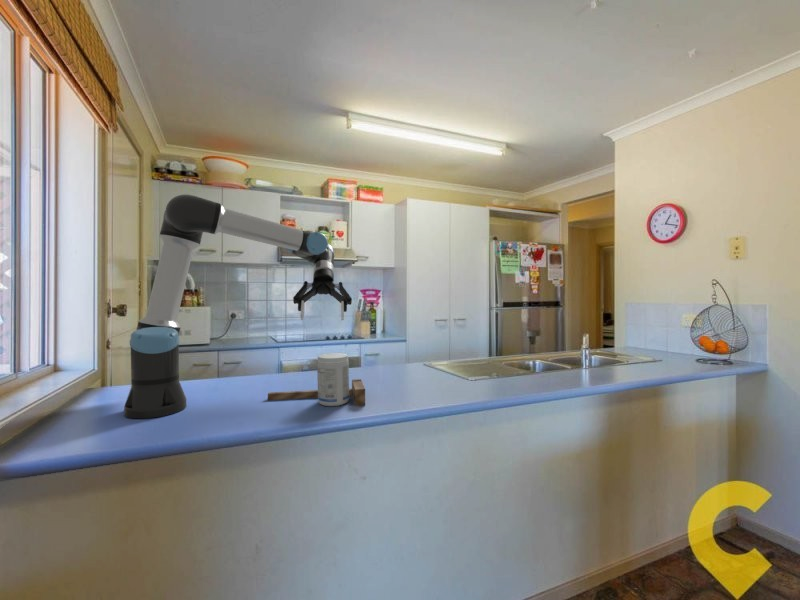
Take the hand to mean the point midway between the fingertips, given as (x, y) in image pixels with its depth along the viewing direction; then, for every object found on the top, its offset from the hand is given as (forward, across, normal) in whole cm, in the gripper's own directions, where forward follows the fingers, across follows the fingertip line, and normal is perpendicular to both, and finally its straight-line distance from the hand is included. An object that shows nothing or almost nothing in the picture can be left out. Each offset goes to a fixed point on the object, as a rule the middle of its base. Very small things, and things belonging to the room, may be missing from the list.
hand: (322, 317), depth 130 cm
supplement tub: (+27, -4, -9) cm, 29 cm away
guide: (+26, +1, -9) cm, 28 cm away
